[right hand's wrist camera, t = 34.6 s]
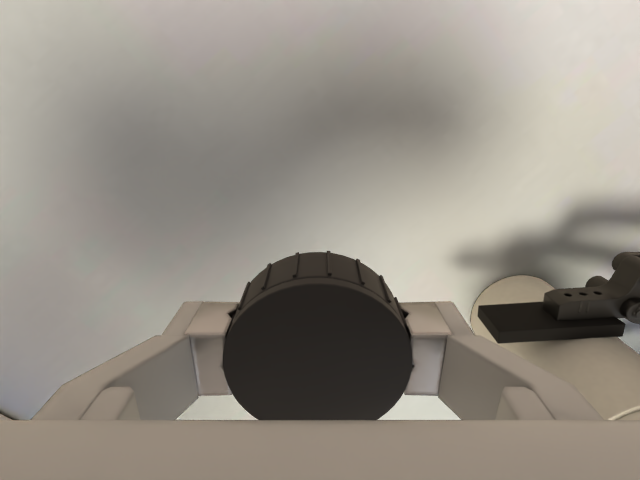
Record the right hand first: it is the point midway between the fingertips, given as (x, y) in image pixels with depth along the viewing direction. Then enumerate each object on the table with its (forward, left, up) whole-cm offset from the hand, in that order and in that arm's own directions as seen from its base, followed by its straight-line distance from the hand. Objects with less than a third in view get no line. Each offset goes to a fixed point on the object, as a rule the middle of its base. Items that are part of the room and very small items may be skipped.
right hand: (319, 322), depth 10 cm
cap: (0, 0, +2) cm, 2 cm away
